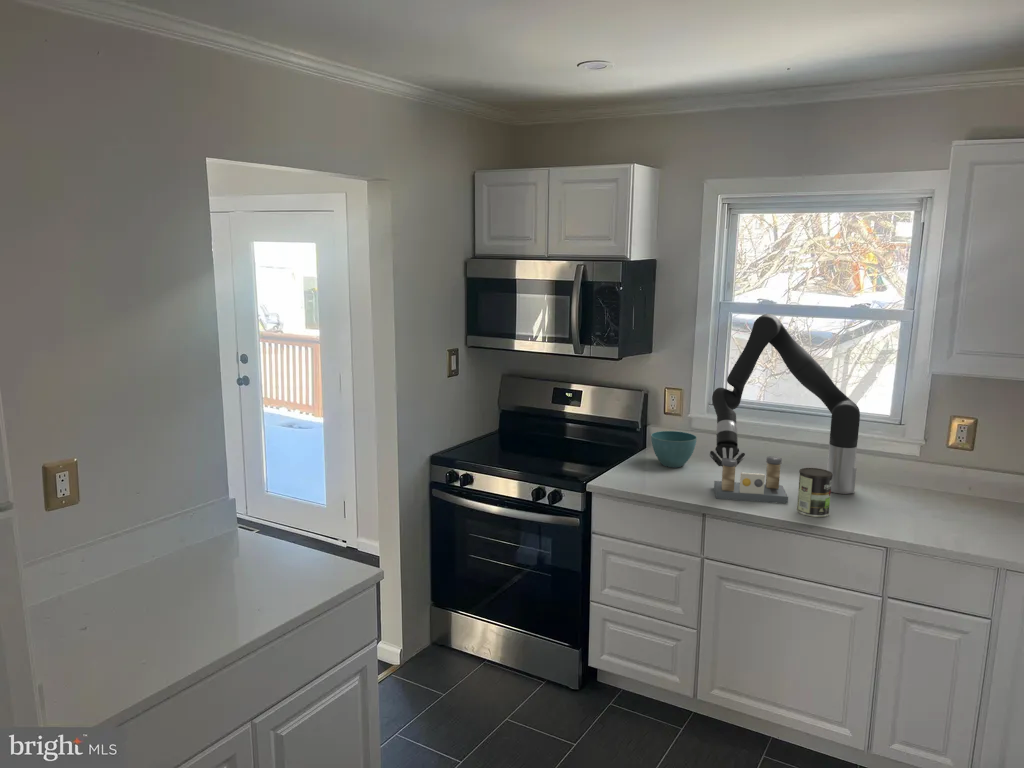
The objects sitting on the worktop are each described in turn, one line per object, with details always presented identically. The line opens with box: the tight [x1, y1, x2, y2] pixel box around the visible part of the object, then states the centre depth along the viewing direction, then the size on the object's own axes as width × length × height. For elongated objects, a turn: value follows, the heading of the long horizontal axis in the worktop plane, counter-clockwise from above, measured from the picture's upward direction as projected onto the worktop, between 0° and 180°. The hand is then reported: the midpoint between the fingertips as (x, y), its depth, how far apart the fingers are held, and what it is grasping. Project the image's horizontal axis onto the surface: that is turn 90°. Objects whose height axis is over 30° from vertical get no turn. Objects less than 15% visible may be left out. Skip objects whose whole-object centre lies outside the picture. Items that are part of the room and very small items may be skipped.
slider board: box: [713, 471, 789, 504], centre depth 264 cm, size 24×13×10 cm, turn 78°
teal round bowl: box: [650, 430, 698, 468], centre depth 302 cm, size 18×18×12 cm
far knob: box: [721, 458, 738, 491], centre depth 262 cm, size 5×5×11 cm
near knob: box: [765, 455, 783, 489], centre depth 265 cm, size 5×5×11 cm
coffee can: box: [796, 467, 833, 518], centre depth 247 cm, size 10×10×14 cm
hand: (727, 475), depth 266 cm, fingers closed
